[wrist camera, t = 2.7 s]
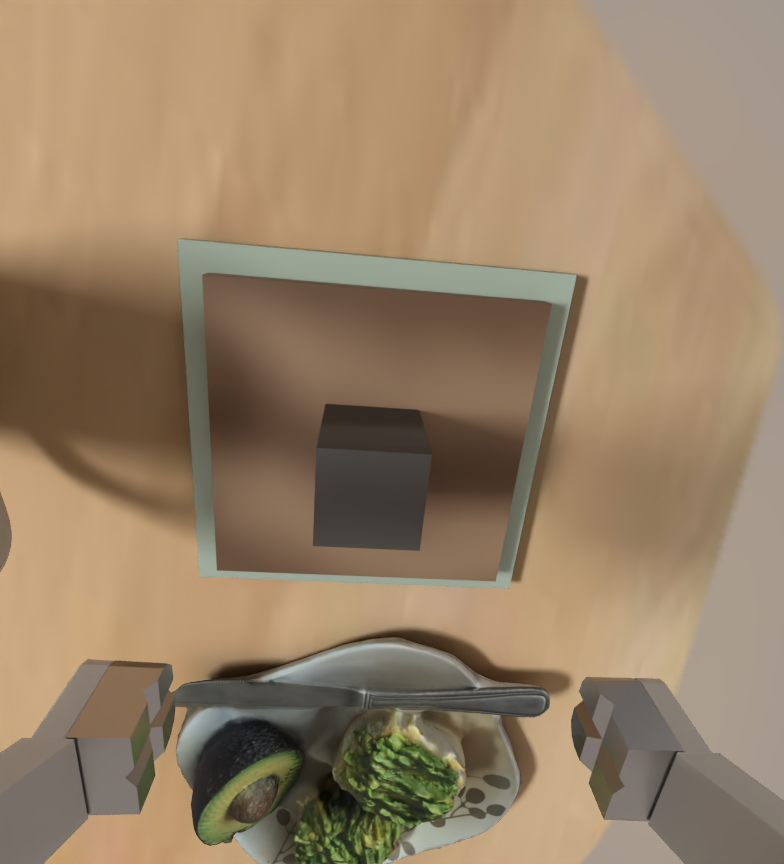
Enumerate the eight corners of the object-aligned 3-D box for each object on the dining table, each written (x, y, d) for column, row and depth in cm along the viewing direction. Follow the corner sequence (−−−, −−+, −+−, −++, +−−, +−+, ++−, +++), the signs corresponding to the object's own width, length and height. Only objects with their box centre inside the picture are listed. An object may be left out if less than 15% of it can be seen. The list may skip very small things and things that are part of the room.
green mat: (183, 238, 18) (177, 238, 17) (570, 273, 19) (576, 275, 18) (203, 568, 23) (199, 576, 23) (505, 580, 24) (509, 588, 24)
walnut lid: (209, 272, 18) (157, 289, 13) (544, 301, 19) (600, 325, 14) (221, 558, 22) (186, 642, 18) (491, 570, 23) (521, 652, 19)
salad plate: (496, 551, 24) (524, 622, 20) (578, 779, 31) (613, 870, 26) (131, 676, 26) (85, 766, 22) (284, 866, 33) (272, 963, 28)
